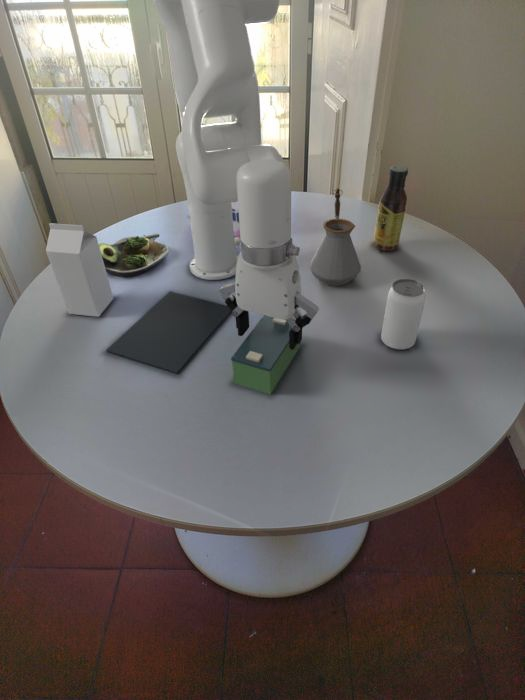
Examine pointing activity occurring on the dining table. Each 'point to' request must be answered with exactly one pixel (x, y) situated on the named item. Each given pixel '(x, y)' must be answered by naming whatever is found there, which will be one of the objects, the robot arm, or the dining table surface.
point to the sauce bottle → (391, 210)
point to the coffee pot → (336, 252)
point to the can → (403, 314)
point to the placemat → (171, 332)
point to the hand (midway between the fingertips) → (268, 338)
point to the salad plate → (132, 255)
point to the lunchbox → (263, 355)
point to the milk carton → (79, 269)
